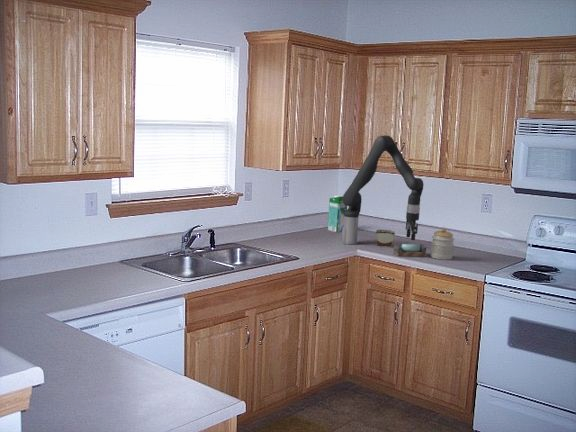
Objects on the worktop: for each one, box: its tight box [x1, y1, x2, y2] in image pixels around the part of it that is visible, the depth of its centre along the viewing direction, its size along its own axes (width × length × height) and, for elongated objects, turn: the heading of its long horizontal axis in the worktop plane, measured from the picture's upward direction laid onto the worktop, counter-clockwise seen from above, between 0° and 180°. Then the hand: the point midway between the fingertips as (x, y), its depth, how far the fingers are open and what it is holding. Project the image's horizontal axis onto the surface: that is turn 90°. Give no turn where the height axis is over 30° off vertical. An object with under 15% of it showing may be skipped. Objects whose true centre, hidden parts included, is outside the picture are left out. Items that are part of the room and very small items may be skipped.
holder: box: [392, 243, 427, 258], centre depth 397 cm, size 17×9×6 cm, turn 98°
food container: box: [374, 229, 396, 248], centre depth 421 cm, size 12×6×10 cm, turn 84°
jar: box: [430, 227, 455, 261], centre depth 394 cm, size 13×13×18 cm
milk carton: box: [327, 195, 348, 233], centre depth 464 cm, size 9×9×25 cm
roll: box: [400, 243, 421, 252], centre depth 397 cm, size 10×5×5 cm
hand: (410, 238), depth 396 cm, fingers open, 8 cm apart
